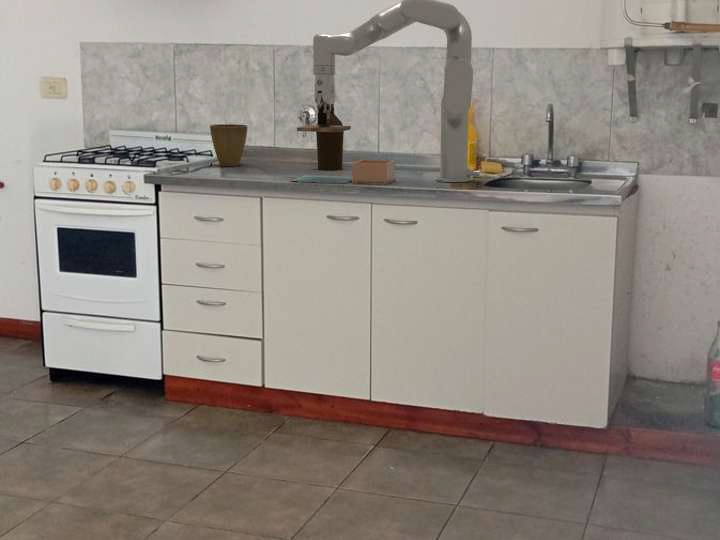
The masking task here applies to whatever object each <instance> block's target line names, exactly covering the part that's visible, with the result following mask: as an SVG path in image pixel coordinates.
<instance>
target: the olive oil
mask: <svg viewBox="0 0 720 540" xmlns="http://www.w3.org/2000/svg"><path fill="white" fill-rule="evenodd" d="M316 125H318V122H317V124H316ZM330 125H334V126H344V124H343V122H342V121H341V119H339V117H337V115H336V114H335V103H333V104H331V124H330ZM344 132H345V131H342V132H315V134H316V136H315V138H316V152H317V153H316V154H317V169H318V170H320V171H338V170H339V171H340V170H341V171H342V169H343V156H344V155H343V153H344V151H343V150H344Z"/></svg>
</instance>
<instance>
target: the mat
mask: <svg viewBox="0 0 720 540" xmlns="http://www.w3.org/2000/svg"><path fill="white" fill-rule="evenodd" d="M352 180H353V176H336V175H331V176H329V175H303V176H300V177H297V178H294V179H292V180H290V182H291V181H297V182H296V183H311V182H316V184H341V183H346V184H349V183H351V182H353V181H352ZM350 181H351V182H350ZM348 182H349V183H348Z"/></svg>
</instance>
